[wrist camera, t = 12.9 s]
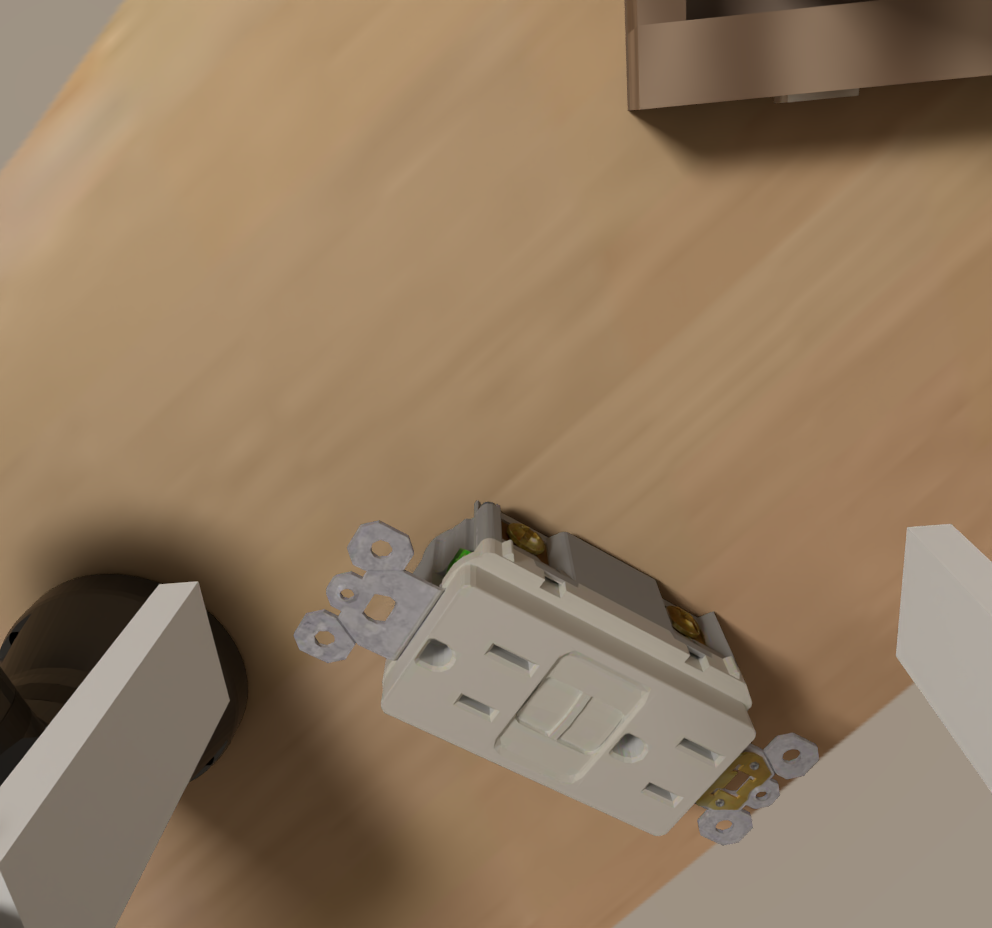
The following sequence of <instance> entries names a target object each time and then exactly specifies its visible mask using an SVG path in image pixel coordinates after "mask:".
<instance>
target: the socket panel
mask: <svg viewBox="0 0 992 928" xmlns="http://www.w3.org/2000/svg"><path fill="white" fill-rule="evenodd" d="M625 30H626V63H627V96H628V110H641V109H651V108H661V107H671V106H681V105H692V104H702V103H712V102H722V101H733V100H743V99H753V98H763V97H773V96H774V103H787V102H798V101H808V100H818V99H829V98H839V97H849V96H859V88H865V87H875V86H886V85H896V84H906V83H916V82H926V81H937V80H947V79H957V78H967V77H977V76H988V75H992V0H625Z"/></svg>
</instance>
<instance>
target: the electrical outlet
mask: <svg viewBox="0 0 992 928" xmlns="http://www.w3.org/2000/svg"><path fill="white" fill-rule="evenodd" d="M379 540H382V541H386V542H389V544H390V545H391V547H392V549H393V550H392V552H391V553H390V554H389V555H388V556H377V555H376V554H375V553H373V552H372V548H371V546H372V543H374V542H376V541H379ZM347 549H348V552H349V555H350V558H351V561H352V563H353V565H355V566H357V567H359V568H361V569H363V570H365V571H367V572H366V573H365V575H364V576H363V577H362V576H360V575H358V574H356V573H354V572H352V571H351V572H346V573H342V574H337V575H335V576H334V577H333V578H332V580H331V582H330V583H329V585H328V586H327V589H326V594H327V597H328V599H329V602H330V605H331V606H332V607H335V608H337V609H339V610H341V613H340V614H339V616H337V615H335V614H333V613H331V612H329V611H327V610H325V609H323V610H318V611H314V612H310V613H306V615H305V616H304V618H303V619H302V621H301V623H300V624H299V626H298V627H297V629H296V631H295V632H294V638H295V640H296V642H297V645H298V647H299V650H301V651H303V652H305V653H307V654H309V655H312V656H314V657H316V658H318V659H320V660H322V661H325V662H327V663H330V662H335V661H339V660H344V659H346V657H347V656H348V654H349V653H350V651H351V650H352V648H353V647H354V645H355V643H357V644H358V645H360V646H362V647H364V648H366V649H368V650H370V651H372V652H375V653H377V654H379V655H381V656H383V657H385V658H386V663H385V669H384V675H383V682H382V683H383V693H382V700H381V708H382V710H383V711H384V713H386V714H388V715H390V716H393V717H395V718H397V719H399V720H401V721H404V722H406V723H408V724H410V725H412V726H415V727H417V728H419V729H421V730H423V731H426V732H428V733H430V734H432V735H434V736H437V737H439V738H441V739H443V740H445V741H448V742H450V743H452V744H454V745H456V746H459V747H461V748H463V749H465V750H467V751H470V752H472V753H474V754H476V755H478V756H481V757H483V758H485V759H487V760H489V761H492V762H494V763H496V764H498V765H500V766H503V767H505V768H507V769H509V770H511V771H514V772H516V773H518V774H520V775H522V776H524V777H527V778H529V779H531V780H533V781H535V782H538V783H540V784H542V785H544V786H546V787H549V788H551V789H553V790H555V791H557V792H560V793H562V794H564V795H566V796H568V797H571V798H573V799H575V800H577V801H579V802H582V803H584V804H586V805H588V806H590V807H593V808H595V809H597V810H599V811H601V812H604V813H606V814H608V815H610V816H612V817H615V818H617V819H619V820H621V821H623V822H626V823H628V824H630V825H632V826H634V827H637V828H639V829H641V830H643V831H645V832H648V833H650V834H652V835H654V836H661V835H665V834H667V833H668V831H669V830H670V829H671V828H672V827H673V826H674V825H675V824H676V823H677V822H678V821H679V820H680V819H681V817H682V816H683V815H684V814H685V813H686V812H687V811H688V810H689V809H690V808H691V807H692V806H693V804H694V803H695V804H697V805H698V806H701V807H703V808H705V809H707V810H706V811H705V812H704V813H703V814H702V816H701V817H700V818H699V819H698V820H697V821H698V826H699V831H700V834H701V836H703V837H705V838H708V839H710V840H712V841H714V842H716V843H718V844H721V845H727V844H733V843H738V842H739V841H740V840H741V839H742V838H743V837H744V836H745V835H746V834H747V833H748V832H749V831H750V830H751V829H752V828H753V827H752V819H751V815H750V812H748V811H746V810H743V809H742V808H743V807H744V806H745V805H747V806H749V807H751V808H754V809H757V808H762V807H767V806H770V805H771V804H772V803H773V802H774V801H775V800H776V799H777V798H778V797H779V796H780V794H779V785H778V782H777V781H776V780H774V779H772V777H773V776H774V775H775V773H776V774H777V775H779V776H781V777H783V778H785V779H791V778H796V777H801V776H804V775H805V774H806V773H807V772H808V771H809V770H810V769H811V768H812V767H813V766H814V765H815V764H816V763H817V762H818V761H819V755H818V747H817V745H816V744H815V743H813V742H811V741H809V740H807V739H805V738H803V737H801V736H799V735H797V734H795V733H789V734H784V735H778V736H776V737H775V738H774V739H773V740H772V741H771V742H770V743H769V744H768V745H767V746H766V747H765V748H764V749H761V748H759V747H757V746H755V745H753V744H751V742H752V741H753V740H754V739H755V736H756V731H755V729H754V726H753V724H752V722H751V719H750V717H749V715H748V712H747V711H748V710H749V708H750V707H751V705H752V701H751V698H750V695H749V691H748V688H747V685H746V683H745V681H744V678H743V676H742V674H741V672H740V670H739V667H738V665H737V663H736V661H735V658H734V656H733V654H732V652H731V650H730V647H729V645H728V643H727V641H726V638H725V636H724V634H723V632H722V629H721V627H720V625H719V623H718V621H717V618H716V616H715V614H714V612H710V613H708V614H705V615H703V616H700V617H698V618H697V617H696V616H694V615H692V614H690V613H688V612H687V611H685V610H683V609H681V608H679V607H677V606H675V605H673V604H671V603H670V602H668V601H666V600H664V599H662V597H661V594H660V591H659V589H658V586H657V583H656V580H655V579H653V578H651V577H649V576H647V575H645V574H643V573H642V572H640V571H638V570H636V569H634V568H632V567H631V566H629V565H627V564H625V563H623V562H621V561H619V560H618V559H616V558H614V557H612V556H610V555H608V554H606V553H605V552H603V551H601V550H599V549H597V548H595V547H594V546H592V545H590V544H588V543H586V542H584V541H582V540H581V539H579V538H577V537H575V536H573V535H571V534H570V533H568V532H561V533H558V534H556V535H554V536H551V537H549V538H548V537H546V536H544V535H543V534H541V533H539V532H537V531H535V530H533V529H531V528H530V527H528V526H526V525H524V524H522V523H520V522H518V521H516V520H515V519H513V518H511V517H509V516H507V515H505V514H503V513H501V509H500V505H498V504H496V505H495V504H494V503H492V502H485V503H483V504H482V505H481V503H480V502H479V501H478V500H477V501H476V502H475V503H474V518H472V519H464V520H463V521H462V522H461V523H460V524H458V525H456V526H455V527H454V528H453V529H450V530H447V531H445V532H443V533H442V534H440V535H439V536H437V537H435V538H434V539H433V540H432V541H431V543H430V544H429V545H428V547H427V548H426V550H425V552H424V555H423V558H422V560H421V562H420V563H419V565H418V566H417V568H416V569H415V571H414V572H413V574H412V573H410V572H408V571H406V570H404V569H405V567H406V566H407V564H408V563H409V561H410V559H411V558H412V556H413V555H414V550H413V547H412V544H411V541H410V538H409V535H407V534H405V533H403V532H401V531H399V530H397V529H395V528H393V527H391V526H389V525H387V524H385V523H384V522H382V521H380V520H379V521H374V522H370V523H365V524H361V525H360V526H359V528H358V530H357V531H356V533H355V535H354V536H353V538H352V540H351V541H350V543H349V545H348V547H347ZM343 589H350V590H352V591H353V593H354V596H353V597H350V598H346V597H343V595H342V594H341V591H342V590H343ZM374 594H379V595H384V596H389V597H391V598H392V599H393V600H394V601H396V602H395V607H394V609H393V610H392V612H391V613H390V615H389V616H388V618H387V619H386V621H377V620H374V619H372V618H370V617H368V616H367V615H366V614H365V613H364V609H365V608H366V606H367V605H368V603H369V602H370V600H371V598H372V597H373V595H374ZM319 631H329V632H330V633H331V634H333V635H334V637H335V641H334V643H331V644H329V645H324V644H321V643H319V642H318V641H317V639H316V638H315V635H316V634H317V633H318V632H319ZM791 749H796V750H799V751H800V755H799V756H798V757H797V758H796V759H793V760H791V761H787V760H784V759H783V758H782V757H783V754H784V753H785V752H786V751H788V750H791ZM734 770H739V771H742V772H744V773H746V774H748V775H750V777H749V778H748V779H747V780H746V781H745V782H744V783H743V784H742V785H741V786H740V788H739V789H738V790H737V791H730V790H727V789H725V788H724V787H725V786H726V785H727V784H728V783H729V782H730V781H731V780H732V779H733V778H734V777H735V776H736V774H737V773H738V772H737V771H734ZM759 792H766V795H765V796H763V797H756V795H757V793H759ZM722 820H729V821H731V822H732V825H731V827H730V828H728V829H725V830H720V829H716V825H717V823H718V822H720V821H722Z"/></svg>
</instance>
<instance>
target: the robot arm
mask: <svg viewBox="0 0 992 928" xmlns="http://www.w3.org/2000/svg"><path fill="white" fill-rule="evenodd" d="M896 657H897V658H898V660H899V661H900V663H901V664H902V665H903V667H904V668H905V670H906V671H907V673H908V674H909V675H910V677H911V678H912V680H913V681H914V683H915V684H916V685H917V687H918V688H919V690H920V691H921V693H922V694H923V695H924V697H925V698H926V700H927V701H928V703H929V704H930V705H931V707H932V708H933V710H934V711H935V713H936V714H937V715H938V717H939V718H940V720H941V721H942V723H943V724H944V725H945V727H946V728H947V730H948V731H949V732H950V734H951V735H952V737H953V738H954V740H955V741H956V742H957V744H958V745H959V747H960V748H961V750H962V751H963V753H964V754H965V755H966V757H967V758H968V760H969V761H970V762H971V764H972V765H973V767H974V768H975V770H976V771H977V773H978V774H979V775H980V777H981V778H982V780H983V781H984V783H985V784H986V785H987V786H988V788H989V789H990V791H991V792H992V562H991V561H990V560H989V559H988V558H987V557H986V556H985V555H984V554H982V553H981V552H980V551H979V550H978V549H977V548H976V547H975V546H974V545H973V544H972V543H971V542H970V541H969V540H968V539H966V538H965V537H964V536H963V535H962V534H961V533H960V532H959V531H958V530H957V529H956V528H955V527H954V526H953V525H952V524H944V525H930V526H917V527H907V535H906V546H905V558H904V569H903V581H902V592H901V604H900V615H899V627H898V638H897V650H896ZM247 694H248V685H247V676H246V671H245V667H244V664H243V661H242V658H241V656H240V654H239V651H238V649H237V647H236V646H235V644H234V642H233V640H232V639H231V637H230V636H229V634H228V633H227V632H226V630H225V629H224V628H223V627H222V625H221V624H220V623H219V622H218V621H217V620H216V619H215V618H214V617H213V616H212V615H211V614H210V613H209V612H208V611H206V609H205V605H204V601H203V597H202V593H201V590H200V586H199V582H198V581H197V582H183V583H170V584H160V583H157V582H154V581H151V580H148V579H144V578H140V577H135V576H129V575H120V574H100V575H91V576H85V577H80V578H76V579H73V580H70V581H67V582H65V583H63V584H60V585H58V586H57V587H55V588H53V589H51V590H50V591H48V592H47V593H45V594H44V595H43V596H42V597H40V598H39V599H38V600H37V601H36V602H35V603H34V604H33V605H32V606H31V607H30V608H29V609H28V610H27V611H26V612H25V613H24V614H23V615H22V616H21V617H20V618H19V619H18V620H17V621H16V623H15V624H14V625H13V627H12V628H11V629H10V631H9V632H8V634H7V636H6V638H5V639H4V642H3V644H2V646H1V649H0V928H115V926H116V924H117V922H118V920H119V918H120V917H121V915H122V913H123V911H124V909H125V907H126V905H127V903H128V901H129V899H130V897H131V895H132V893H133V891H134V889H135V887H136V885H137V883H138V881H139V879H140V877H141V875H142V873H143V871H144V869H145V867H146V865H147V863H148V861H149V859H150V857H151V855H152V853H153V851H154V849H155V847H156V845H157V843H158V841H159V839H160V837H161V835H162V834H163V832H164V830H165V828H166V826H167V824H168V822H169V820H170V818H171V816H172V814H173V812H174V810H175V808H176V806H177V804H178V802H179V800H180V798H181V796H182V794H183V792H184V790H185V788H186V786H187V785H188V783H189V782H190V781H192V780H194V779H196V778H197V777H199V776H200V775H202V774H203V773H204V772H205V771H207V770H208V769H209V768H210V767H211V766H212V765H213V764H214V763H215V762H216V761H217V760H218V759H219V758H220V757H221V755H222V754H223V753H224V751H225V750H226V749H227V747H228V745H229V744H230V742H231V740H232V738H233V736H234V734H235V732H236V730H237V728H238V726H239V723H240V721H241V719H242V717H243V714H244V711H245V708H246V703H247Z"/></svg>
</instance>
